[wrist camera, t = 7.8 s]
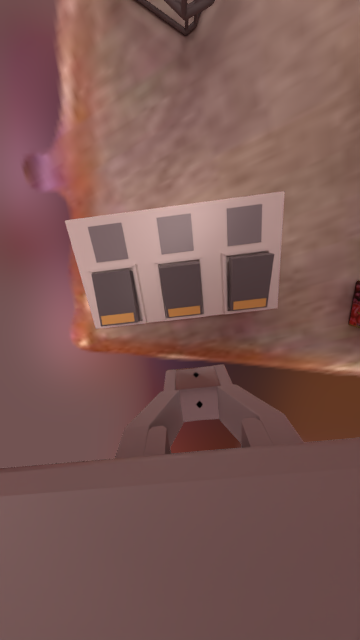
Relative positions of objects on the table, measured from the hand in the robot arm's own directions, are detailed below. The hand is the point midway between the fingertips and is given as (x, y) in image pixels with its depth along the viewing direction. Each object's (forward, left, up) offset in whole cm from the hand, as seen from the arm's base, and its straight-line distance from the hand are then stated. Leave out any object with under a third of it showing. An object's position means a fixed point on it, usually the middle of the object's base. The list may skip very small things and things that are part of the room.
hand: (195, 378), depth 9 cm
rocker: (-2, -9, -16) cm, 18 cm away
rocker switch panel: (-5, 0, -21) cm, 22 cm away
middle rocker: (-2, 0, -16) cm, 16 cm away
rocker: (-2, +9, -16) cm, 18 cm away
